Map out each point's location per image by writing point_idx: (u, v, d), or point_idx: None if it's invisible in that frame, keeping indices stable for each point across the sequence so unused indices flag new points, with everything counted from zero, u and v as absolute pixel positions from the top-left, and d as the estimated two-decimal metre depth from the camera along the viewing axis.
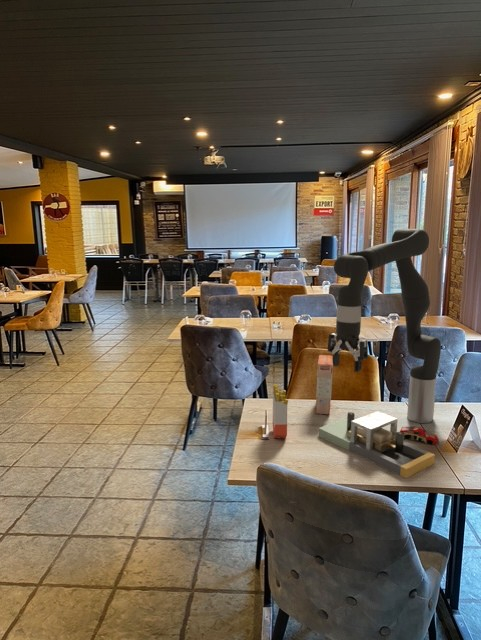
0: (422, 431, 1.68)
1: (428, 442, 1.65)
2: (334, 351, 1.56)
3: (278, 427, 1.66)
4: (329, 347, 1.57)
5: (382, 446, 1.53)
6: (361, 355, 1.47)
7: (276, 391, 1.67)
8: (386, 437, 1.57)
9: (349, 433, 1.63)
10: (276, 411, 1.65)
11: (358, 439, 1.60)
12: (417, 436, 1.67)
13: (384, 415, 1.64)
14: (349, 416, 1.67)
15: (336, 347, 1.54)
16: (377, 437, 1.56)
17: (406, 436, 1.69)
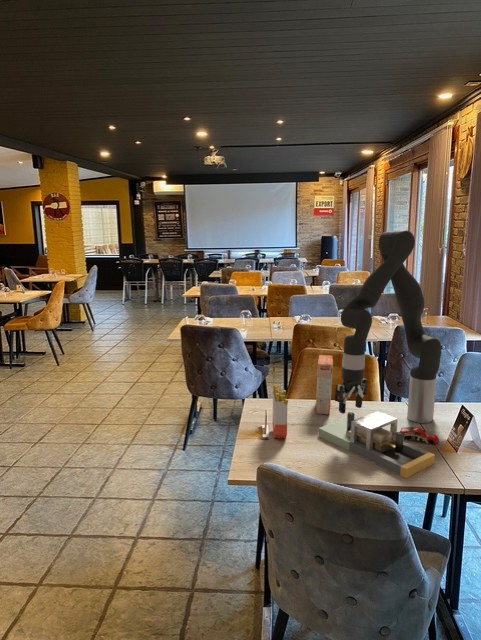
0: (422, 431, 1.68)
1: (429, 442, 1.65)
2: (345, 400, 1.63)
3: (278, 427, 1.66)
4: (341, 399, 1.62)
5: (382, 446, 1.53)
6: (366, 391, 1.69)
7: (276, 391, 1.67)
8: (386, 437, 1.57)
9: (349, 433, 1.63)
10: (276, 411, 1.65)
11: (358, 439, 1.60)
12: (418, 436, 1.67)
13: (384, 415, 1.64)
14: (349, 416, 1.67)
15: (349, 395, 1.63)
16: (377, 437, 1.56)
17: (407, 437, 1.68)
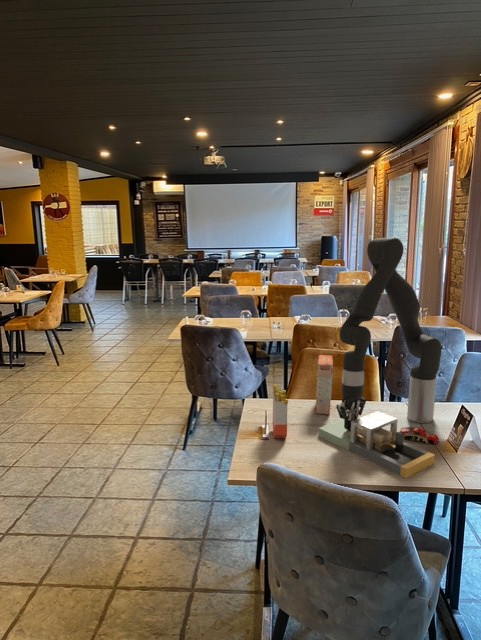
0: (422, 431, 1.68)
1: (429, 442, 1.65)
2: (350, 416, 1.66)
3: (278, 427, 1.66)
4: (346, 416, 1.65)
5: (382, 446, 1.53)
6: (361, 411, 1.69)
7: (276, 391, 1.67)
8: (386, 437, 1.57)
9: (349, 433, 1.63)
10: (276, 411, 1.65)
11: (358, 439, 1.60)
12: (418, 436, 1.67)
13: (384, 415, 1.64)
14: None
15: (352, 411, 1.65)
16: (377, 437, 1.56)
17: (407, 437, 1.68)
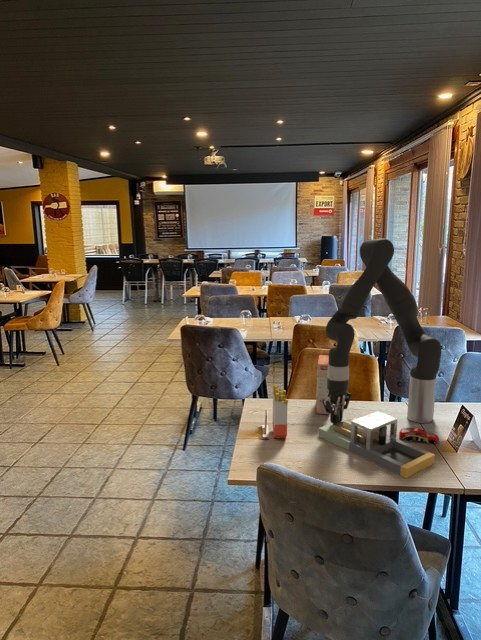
0: (422, 431, 1.67)
1: (430, 442, 1.66)
2: (336, 410, 1.71)
3: (278, 427, 1.66)
4: (331, 410, 1.70)
5: (366, 439, 1.58)
6: (346, 405, 1.75)
7: (276, 391, 1.67)
8: None
9: (335, 427, 1.68)
10: (276, 411, 1.65)
11: (343, 432, 1.65)
12: (419, 437, 1.66)
13: (384, 415, 1.64)
14: None
15: (337, 405, 1.71)
16: (363, 431, 1.61)
17: (407, 438, 1.68)
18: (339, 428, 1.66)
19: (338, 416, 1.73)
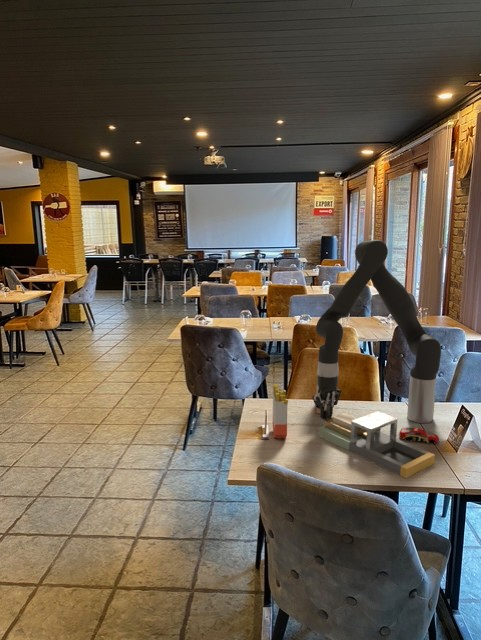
0: (423, 431, 1.68)
1: (430, 442, 1.66)
2: (325, 406, 1.75)
3: (278, 427, 1.66)
4: (321, 406, 1.74)
5: None
6: (336, 401, 1.78)
7: (276, 391, 1.67)
8: None
9: (324, 422, 1.72)
10: (276, 411, 1.65)
11: (332, 427, 1.69)
12: (419, 437, 1.66)
13: (384, 415, 1.64)
14: None
15: (327, 401, 1.74)
16: None
17: (408, 438, 1.68)
18: (329, 423, 1.70)
19: (328, 412, 1.76)
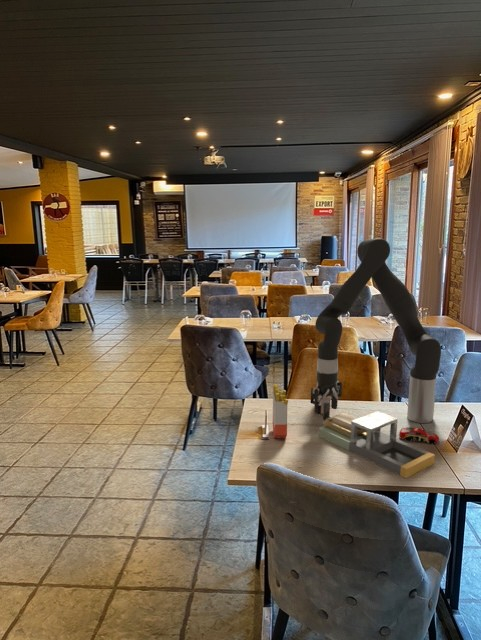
0: (423, 431, 1.68)
1: (430, 441, 1.66)
2: (320, 402, 1.73)
3: (278, 427, 1.66)
4: (316, 401, 1.72)
5: None
6: (340, 393, 1.80)
7: (276, 391, 1.67)
8: None
9: (324, 422, 1.72)
10: (276, 411, 1.65)
11: (332, 427, 1.69)
12: (419, 437, 1.66)
13: (384, 415, 1.64)
14: (325, 406, 1.76)
15: (324, 397, 1.73)
16: None
17: (408, 438, 1.68)
18: (328, 423, 1.70)
19: (328, 412, 1.77)
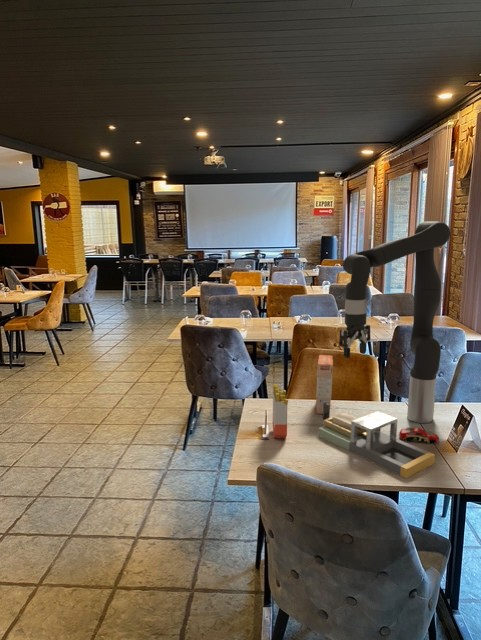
0: (423, 431, 1.68)
1: (431, 441, 1.66)
2: (350, 344, 1.69)
3: (278, 427, 1.66)
4: (345, 343, 1.68)
5: None
6: (369, 337, 1.75)
7: (276, 391, 1.67)
8: None
9: (324, 422, 1.72)
10: (276, 411, 1.65)
11: (332, 427, 1.69)
12: (419, 437, 1.66)
13: (384, 415, 1.64)
14: (325, 406, 1.76)
15: (353, 339, 1.69)
16: None
17: (408, 438, 1.67)
18: (328, 423, 1.70)
19: (328, 412, 1.77)
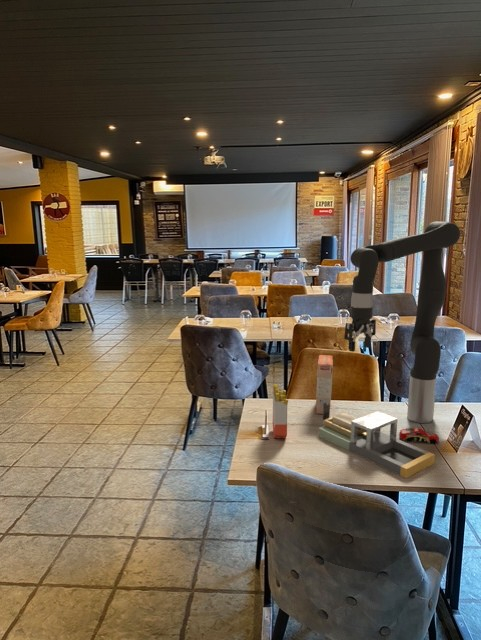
0: (423, 431, 1.68)
1: (431, 441, 1.66)
2: (355, 338, 1.69)
3: (278, 427, 1.66)
4: (351, 336, 1.67)
5: None
6: (374, 331, 1.75)
7: (276, 391, 1.67)
8: None
9: (324, 422, 1.72)
10: (276, 411, 1.65)
11: (332, 427, 1.69)
12: (420, 437, 1.66)
13: (384, 415, 1.64)
14: (325, 406, 1.76)
15: (358, 333, 1.69)
16: None
17: (409, 439, 1.67)
18: (328, 423, 1.70)
19: (328, 412, 1.77)
